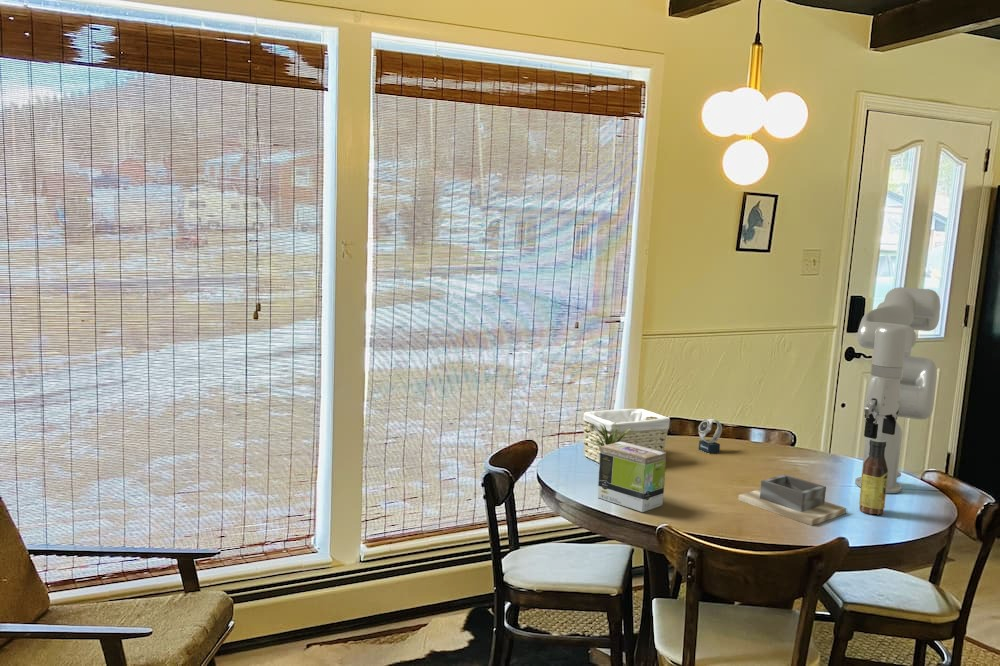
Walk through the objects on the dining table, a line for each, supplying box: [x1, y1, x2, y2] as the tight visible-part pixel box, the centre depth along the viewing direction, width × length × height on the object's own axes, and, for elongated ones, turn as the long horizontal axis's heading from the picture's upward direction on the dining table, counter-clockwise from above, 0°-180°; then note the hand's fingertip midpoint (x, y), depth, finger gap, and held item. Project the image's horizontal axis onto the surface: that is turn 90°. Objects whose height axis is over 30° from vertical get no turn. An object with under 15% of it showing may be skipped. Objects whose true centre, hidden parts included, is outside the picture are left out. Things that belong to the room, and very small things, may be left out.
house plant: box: [587, 423, 632, 465], centre depth 238 cm, size 14×14×16 cm
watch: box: [697, 418, 723, 454], centre depth 271 cm, size 6×8×11 cm
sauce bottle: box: [858, 439, 888, 516], centre depth 217 cm, size 6×6×20 cm
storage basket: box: [582, 408, 671, 464], centre depth 256 cm, size 24×16×15 cm
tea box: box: [597, 441, 667, 513], centre depth 216 cm, size 15×10×15 cm
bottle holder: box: [737, 474, 847, 527], centre depth 218 cm, size 17×22×6 cm
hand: (879, 435), depth 215 cm, fingers open, 9 cm apart
